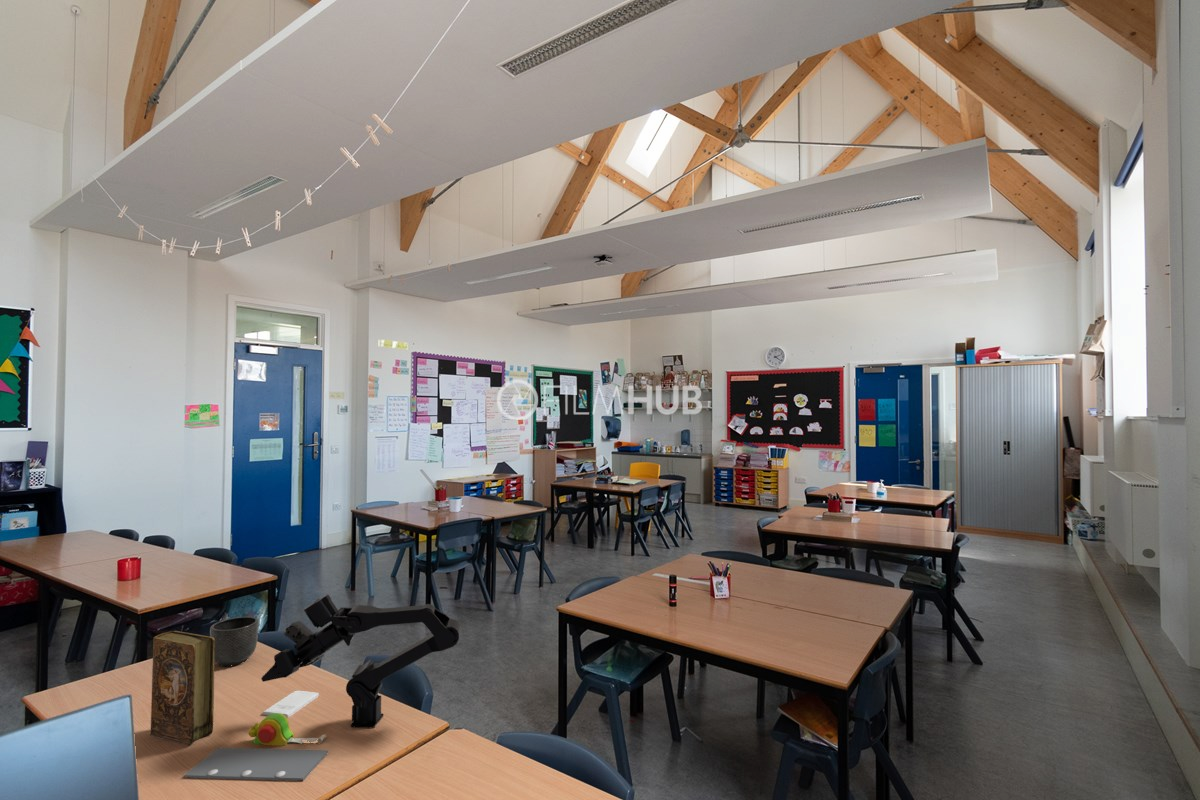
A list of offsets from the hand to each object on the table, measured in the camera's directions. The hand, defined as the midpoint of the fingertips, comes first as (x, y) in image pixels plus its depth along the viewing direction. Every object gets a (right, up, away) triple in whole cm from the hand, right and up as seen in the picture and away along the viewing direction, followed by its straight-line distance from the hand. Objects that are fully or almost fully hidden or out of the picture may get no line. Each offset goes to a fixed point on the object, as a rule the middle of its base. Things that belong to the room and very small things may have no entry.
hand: (271, 675), depth 150 cm
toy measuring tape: (+7, -14, -6) cm, 17 cm away
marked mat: (+6, -13, -16) cm, 22 cm away
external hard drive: (-1, -15, +12) cm, 20 cm away
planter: (-37, -16, +42) cm, 58 cm away
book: (-22, -14, -3) cm, 26 cm away
